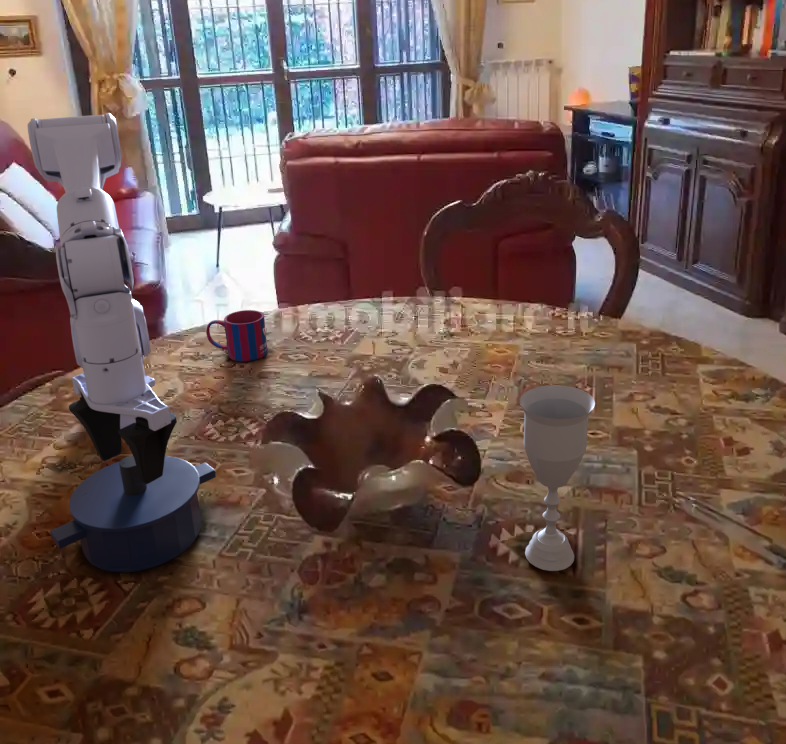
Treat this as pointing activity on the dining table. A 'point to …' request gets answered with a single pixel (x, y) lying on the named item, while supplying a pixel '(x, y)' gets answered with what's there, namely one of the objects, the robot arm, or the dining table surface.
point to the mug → (243, 335)
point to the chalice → (554, 460)
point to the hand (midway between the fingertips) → (131, 467)
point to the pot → (138, 538)
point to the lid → (132, 496)
